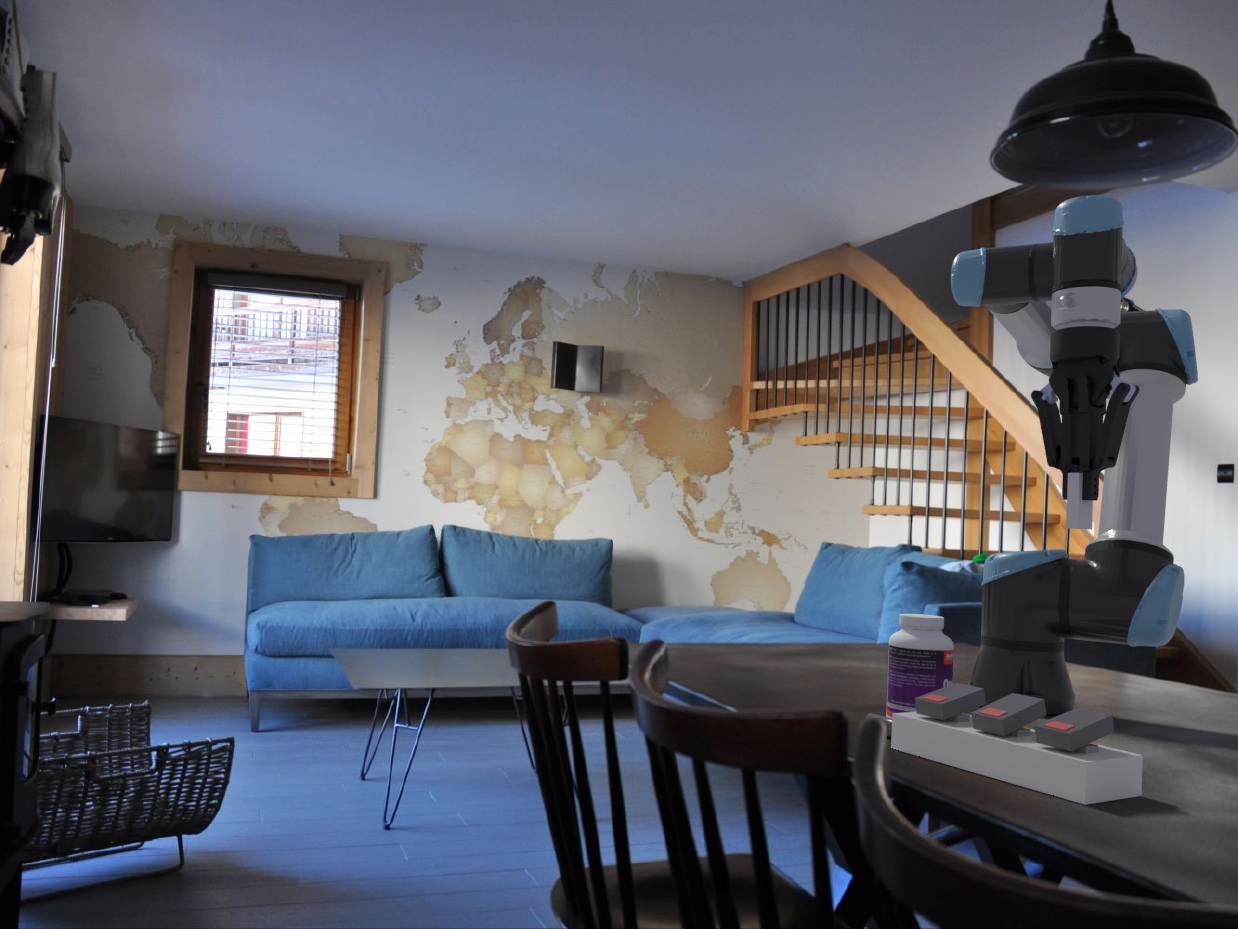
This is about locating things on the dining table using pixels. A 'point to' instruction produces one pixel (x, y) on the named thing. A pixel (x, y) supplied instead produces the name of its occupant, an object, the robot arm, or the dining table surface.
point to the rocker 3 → (1074, 729)
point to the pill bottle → (917, 661)
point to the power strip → (1019, 758)
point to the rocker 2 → (1008, 714)
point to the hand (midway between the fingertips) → (1079, 528)
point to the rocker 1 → (950, 701)
